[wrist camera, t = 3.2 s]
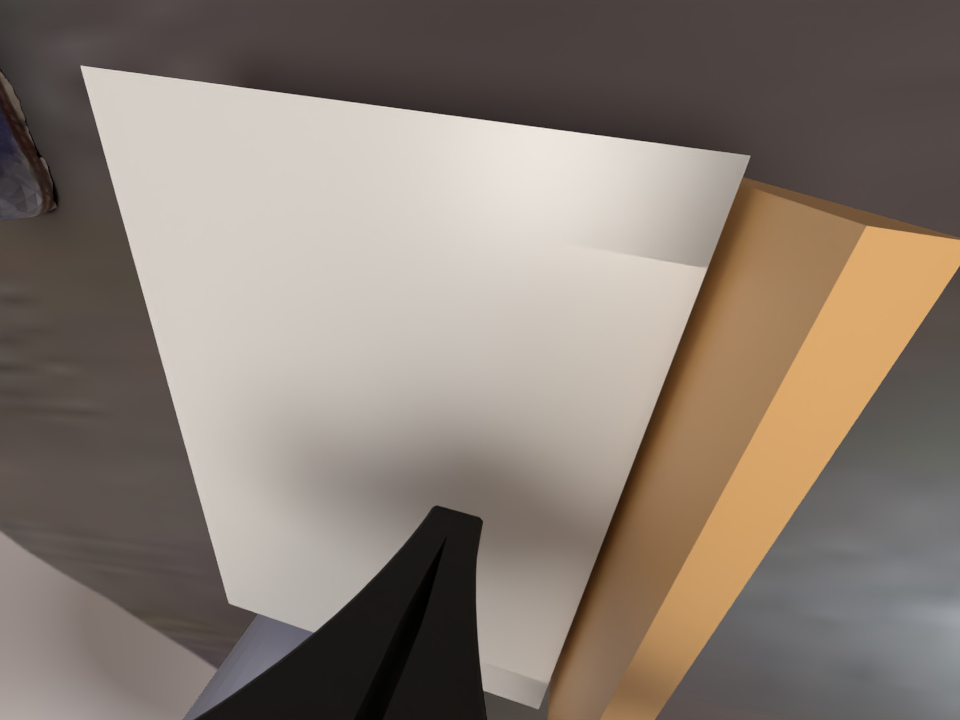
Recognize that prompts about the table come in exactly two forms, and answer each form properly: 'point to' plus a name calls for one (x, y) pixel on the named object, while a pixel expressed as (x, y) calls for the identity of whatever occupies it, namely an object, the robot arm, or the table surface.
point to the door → (742, 431)
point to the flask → (20, 163)
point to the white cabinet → (407, 335)
